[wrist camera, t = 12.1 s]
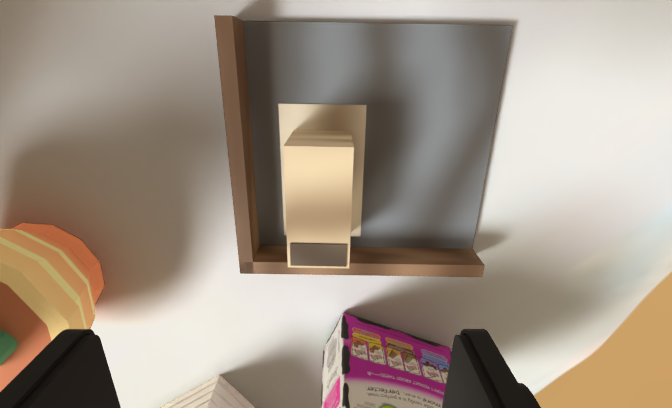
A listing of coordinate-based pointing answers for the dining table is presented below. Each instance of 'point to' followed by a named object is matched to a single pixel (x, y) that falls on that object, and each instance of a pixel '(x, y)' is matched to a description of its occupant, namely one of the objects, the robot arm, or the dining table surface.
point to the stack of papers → (211, 396)
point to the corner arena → (365, 135)
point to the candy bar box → (381, 368)
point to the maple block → (318, 198)
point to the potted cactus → (42, 291)
